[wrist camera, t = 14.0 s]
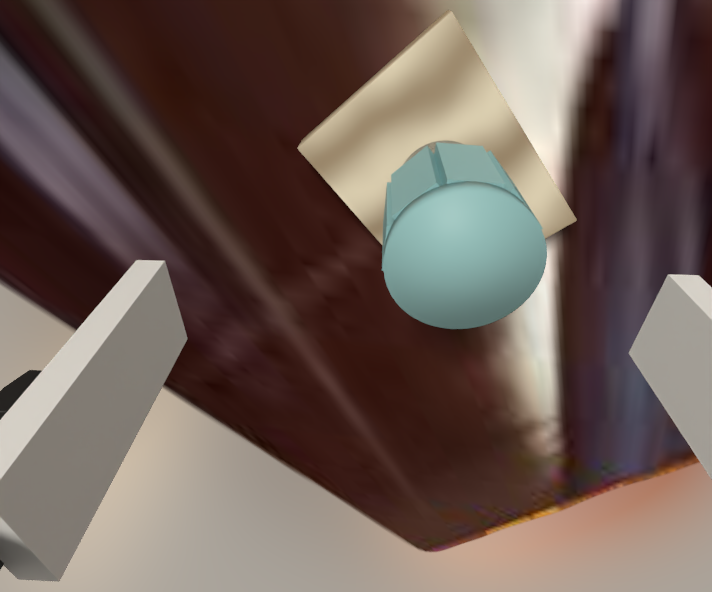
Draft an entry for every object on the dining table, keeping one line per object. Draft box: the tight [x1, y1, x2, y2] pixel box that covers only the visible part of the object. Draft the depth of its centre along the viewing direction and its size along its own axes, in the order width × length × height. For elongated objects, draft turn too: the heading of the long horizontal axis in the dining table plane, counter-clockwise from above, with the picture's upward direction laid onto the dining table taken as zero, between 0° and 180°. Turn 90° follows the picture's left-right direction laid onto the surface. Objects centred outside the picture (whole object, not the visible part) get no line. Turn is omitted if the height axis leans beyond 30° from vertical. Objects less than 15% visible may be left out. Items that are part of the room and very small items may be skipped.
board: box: [297, 10, 577, 246], centre depth 31 cm, size 16×12×2 cm
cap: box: [382, 142, 547, 329], centre depth 24 cm, size 8×8×7 cm
